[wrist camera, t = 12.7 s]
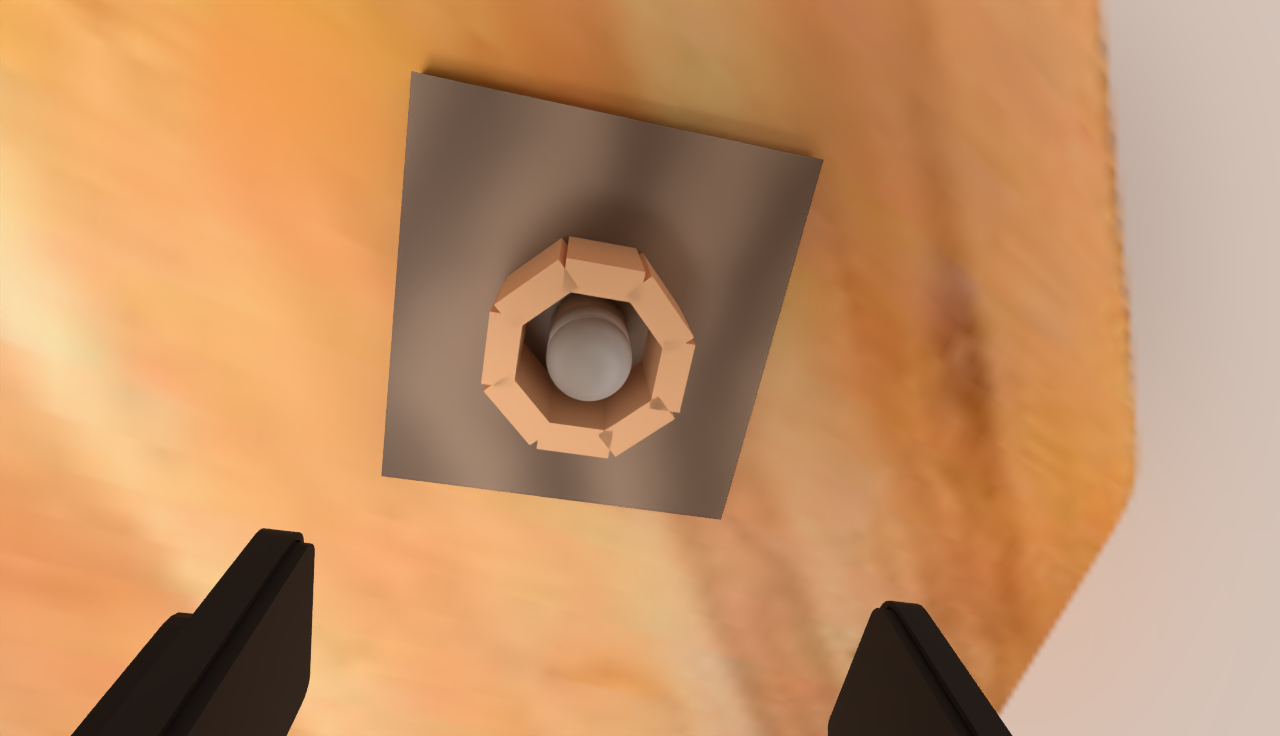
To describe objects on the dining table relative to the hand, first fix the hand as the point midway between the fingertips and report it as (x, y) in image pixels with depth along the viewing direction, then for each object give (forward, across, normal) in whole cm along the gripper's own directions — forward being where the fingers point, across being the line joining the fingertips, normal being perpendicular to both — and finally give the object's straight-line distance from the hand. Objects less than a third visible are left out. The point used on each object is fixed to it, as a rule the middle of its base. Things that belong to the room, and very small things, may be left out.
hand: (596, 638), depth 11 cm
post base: (+18, 0, 0) cm, 18 cm away
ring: (+17, 0, 0) cm, 17 cm away
